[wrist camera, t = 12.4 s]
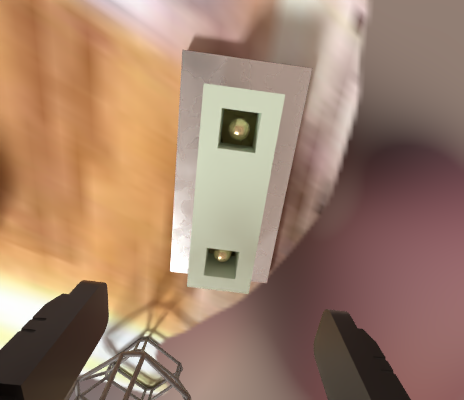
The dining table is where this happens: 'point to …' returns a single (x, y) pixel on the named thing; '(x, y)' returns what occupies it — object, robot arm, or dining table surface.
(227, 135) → the board with brass pegs
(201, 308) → the dining table surface
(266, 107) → the bar
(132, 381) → the geometric lantern
